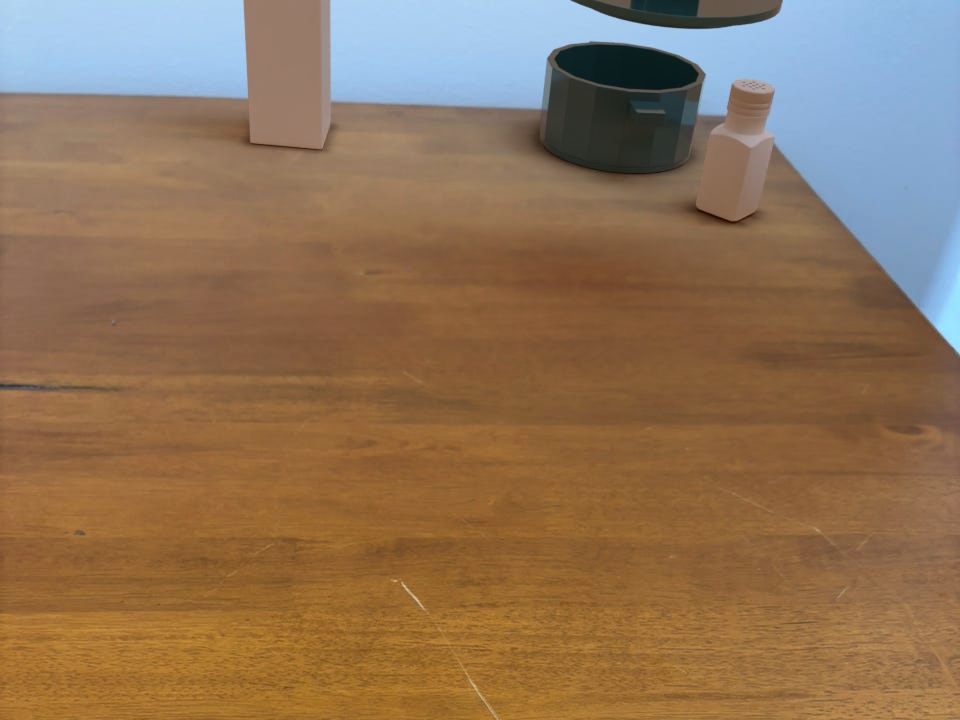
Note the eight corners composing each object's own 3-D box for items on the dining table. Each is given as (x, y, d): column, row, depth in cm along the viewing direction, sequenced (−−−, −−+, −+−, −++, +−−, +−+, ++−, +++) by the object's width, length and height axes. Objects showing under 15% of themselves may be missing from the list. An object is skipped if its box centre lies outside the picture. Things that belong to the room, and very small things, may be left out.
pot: (661, 111, 111) (674, 36, 107) (716, 188, 98) (733, 106, 94) (523, 105, 109) (531, 29, 105) (560, 184, 96) (571, 100, 92)
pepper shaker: (691, 209, 94) (716, 83, 88) (717, 197, 96) (744, 73, 90) (734, 225, 92) (763, 98, 86) (760, 212, 95) (790, 87, 88)
